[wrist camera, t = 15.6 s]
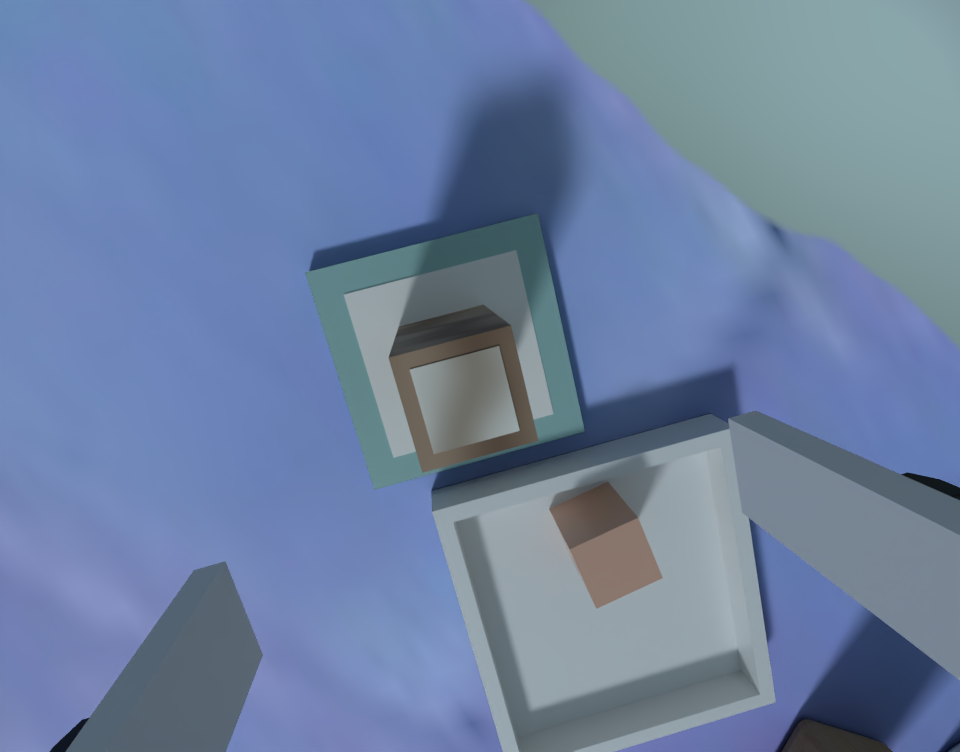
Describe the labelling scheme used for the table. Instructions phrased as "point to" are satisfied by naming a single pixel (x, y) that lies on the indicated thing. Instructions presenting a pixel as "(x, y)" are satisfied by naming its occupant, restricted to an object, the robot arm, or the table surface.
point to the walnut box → (461, 387)
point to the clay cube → (606, 544)
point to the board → (431, 293)
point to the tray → (623, 622)
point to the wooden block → (829, 740)
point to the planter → (955, 748)
